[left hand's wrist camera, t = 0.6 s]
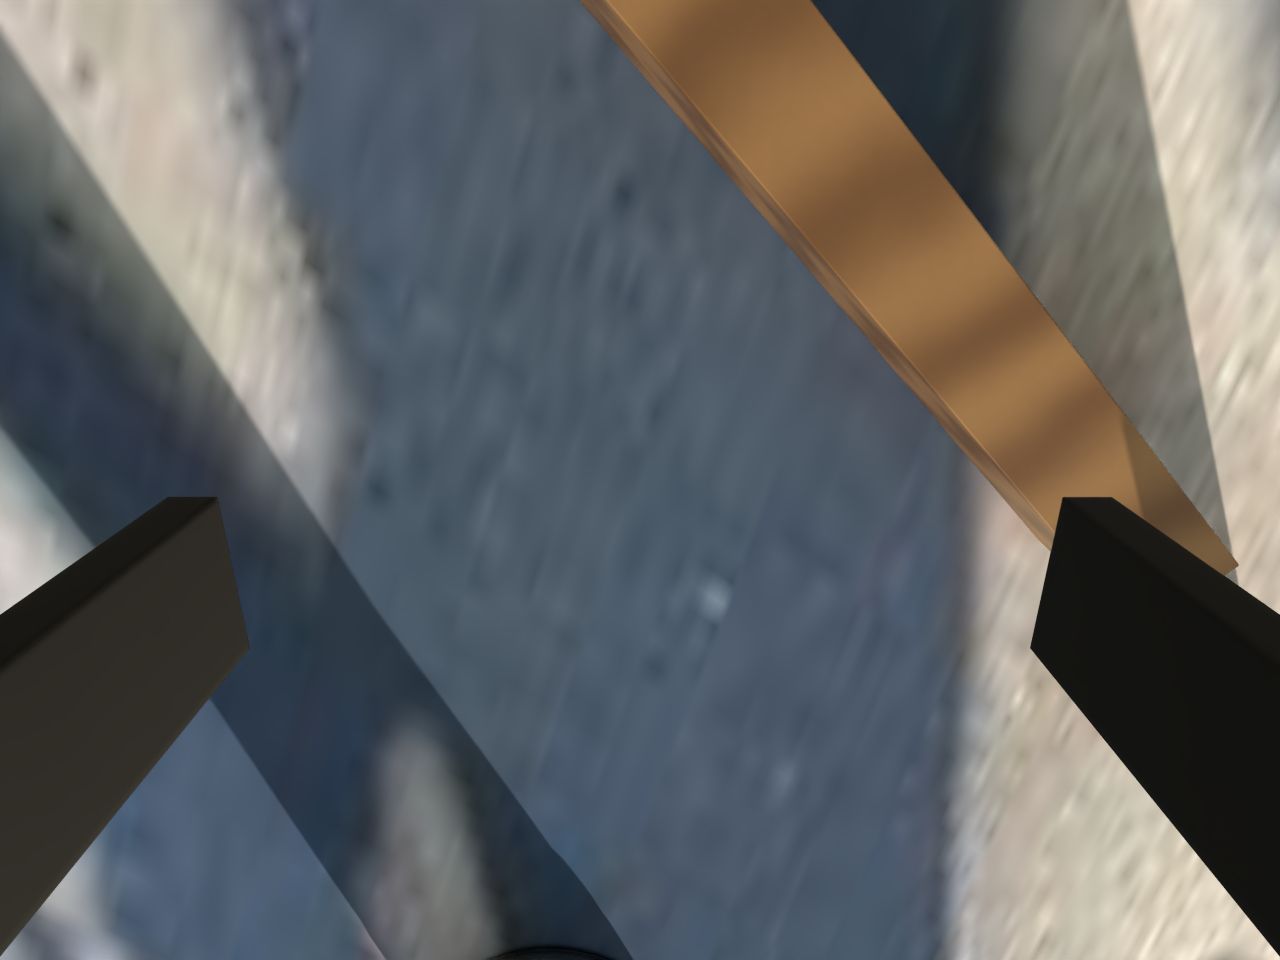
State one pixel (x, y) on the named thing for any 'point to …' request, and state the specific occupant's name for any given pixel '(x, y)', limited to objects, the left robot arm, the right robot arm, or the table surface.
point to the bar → (900, 253)
